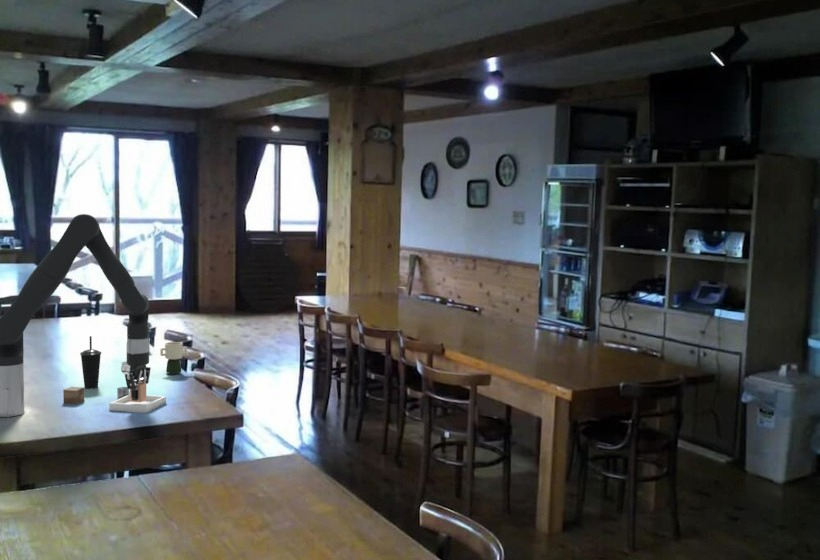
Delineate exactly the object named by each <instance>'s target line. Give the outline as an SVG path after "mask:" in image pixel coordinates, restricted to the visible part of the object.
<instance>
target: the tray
mask: <svg viewBox="0 0 820 560" xmlns="http://www.w3.org/2000/svg"><path fill="white" fill-rule="evenodd" d="M165 404H167V396H166V395H165V396H164V395H152V394H151V395H150V394H146V400H144V401H142V402H130V394H129V395H127V396H125V397H122V398H120V399H116V400H114V401H111V402H109V404H108V405H109V406H108V407H109V411H116V412H128V413H143V414H148V413H150V412H151V411H154V410H156V409H157V408H160V407H162V406H163V405H165Z"/></svg>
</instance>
